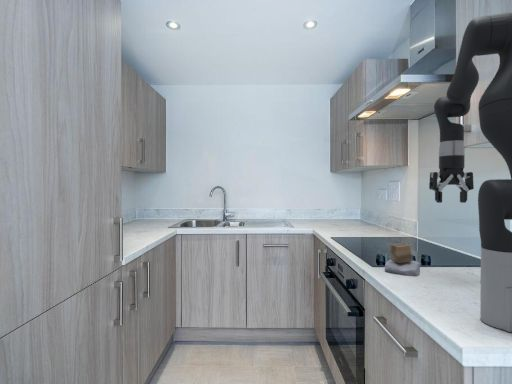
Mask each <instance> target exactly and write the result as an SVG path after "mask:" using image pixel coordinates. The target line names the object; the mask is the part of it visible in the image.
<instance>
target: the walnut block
mask: <svg viewBox="0 0 512 384" xmlns="http://www.w3.org/2000/svg"><path fill="white" fill-rule="evenodd" d="M389 246H390V247H389V248H390V260H392V261H394V262H397V263H405V262H412V261H413V260H412V251H411V245H410V244H407V243H404V242H403V243H402V242H401V243H394V244H389Z"/></svg>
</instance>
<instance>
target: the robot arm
mask: <svg viewBox="0 0 512 384" xmlns="http://www.w3.org/2000/svg"><path fill="white" fill-rule="evenodd" d="M496 54H498V56H499V66H498V69H497V71H496V73H495V75H494V77H493V78H492V80H491V81H490V83H489V84H488V85H487V87H486V89H485V90H484V92H483V93H482V95H481V96H480V99H479V101H478V118H479V119H478V120H479V128H480V131H481V132H482V134H483V136H484V137H485V139H486V140H487V141H488V143H490V144H491V145H492V147H493V148H494V149H495V150H496V151H497V153H499V154H500V155H501V157H502V159H504V161H505V163H506V165H507V169H508V172H509V174H510V179H507V178H506V179H503V178H502V179H500V178H499V179H487V180H485V181H483V182H482V183H481V185H480V187H479V189H478V194H477V195H478V196H477V207H478V228H479V229H478V231H479V238H480V294H479V296H480V299H479V300H480V303H479V304H480V306H479V307H480V315H479V316H480V320H481V322H483V323H484V324H486V325H489V326H490V327H493V328H497V329H499V330H504V331H506V332H508V333H512V231H511V230H509V229H508V227H506V223H505V220H506V221H509V220H510V221H511V220H512V12H503V13H496V14H489V15H482V16H477V17H474V18H473V19H471V20H470V21H469V23H468V24H467V26H466V27H465V30H464V33H463V35H462V40H461V44H460V48H459V52H458V56H457V61H456V64H455V65H456V66H455V69H454V74H453V76H452V78H451V81H450V83H449V85H448V88H447V90H446V96H441V97H438V99H436V101H434V102H435V103H434V105H433V110H434V114H435V118H436V121H437V123H438V127H439V146H438V147H439V148H438V169H439V172H437V171H433V172H429V184H428V185H429V187H428V189H429V190H430V191H431V190H432V191H434V200H435V202H436V203H439V204H441V203H443V190H444V188H445V187H446V186H451V185H455V186H456V187H458V189H459V190H460V191H459V202H460V203H464V204H465V203H466V202H467V201H468V192H469V191H470V190H474V186H475V185H474V173H473V172H472V171H466V172H465V171H464V168H465V155H466V154H465V151H466V150H465V142H464V141H465V128H464V125H463V124H461V123H456V122H452V121H450V120H449V118H460V117H461V116H462V117H465V116H466V115H467V114H469V112H470V110H471V98H472V94H473V93H474V91H475V90H476V88H477V86H478V84H479V80H480V73H479V71H478V69H477V67H476V65H475V64H474V62H473V58H474V57H477V56H478V57H479V56H489V55H496ZM463 178H464V179H463ZM438 179H439V180H438Z"/></svg>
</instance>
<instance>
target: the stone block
mask: <svg viewBox="0 0 512 384" xmlns="http://www.w3.org/2000/svg"><path fill="white" fill-rule="evenodd" d="M411 261H412V262H405V263H397V262H394V261H392V260H391V259H389V260H387V261H386V262H385V265H384V272H387V273H391V274H392V273H393V274H397V275H402V276H409V277H410V276H412V277H419V276H420V271H421V264H420V262H418V261H417V260H411Z"/></svg>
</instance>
